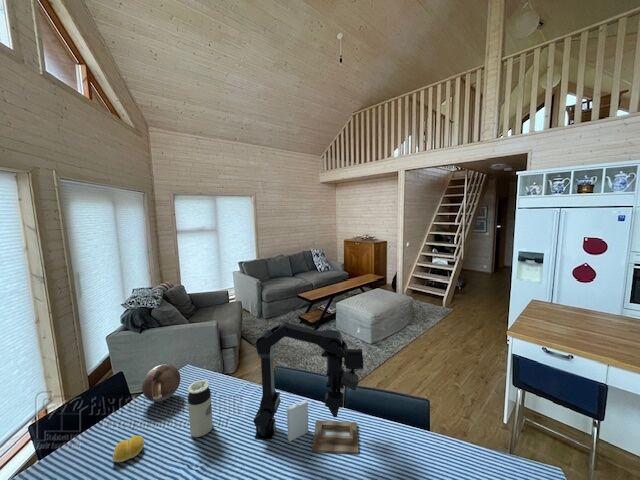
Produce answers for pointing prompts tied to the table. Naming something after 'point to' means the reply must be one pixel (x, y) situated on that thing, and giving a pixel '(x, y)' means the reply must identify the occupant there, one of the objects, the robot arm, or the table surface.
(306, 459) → the table surface
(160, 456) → the table surface
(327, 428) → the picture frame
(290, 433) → the external hard drive
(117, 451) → the bread roll
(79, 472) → the table surface
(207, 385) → the travel mug
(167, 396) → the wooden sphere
